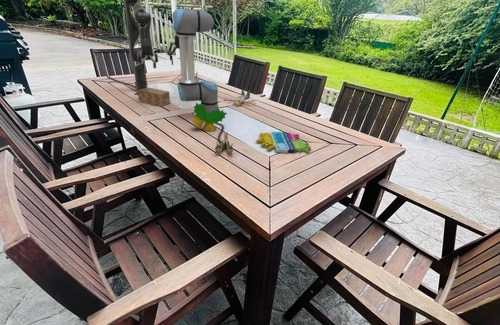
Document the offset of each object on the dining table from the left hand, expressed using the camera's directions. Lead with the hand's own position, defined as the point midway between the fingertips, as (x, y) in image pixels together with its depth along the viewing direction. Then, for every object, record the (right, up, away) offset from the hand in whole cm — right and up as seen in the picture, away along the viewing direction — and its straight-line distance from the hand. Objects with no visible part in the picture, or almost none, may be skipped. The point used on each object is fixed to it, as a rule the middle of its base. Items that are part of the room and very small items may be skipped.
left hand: (148, 68), depth 191 cm
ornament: (+49, -47, -27) cm, 73 cm away
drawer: (-5, -20, +14) cm, 25 cm away
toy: (+67, -17, +30) cm, 75 cm away
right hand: (+19, +10, +18) cm, 28 cm away
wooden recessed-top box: (0, -22, +13) cm, 25 cm away
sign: (+93, -57, -39) cm, 116 cm away
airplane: (+18, +6, +66) cm, 68 cm away
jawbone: (+61, -63, -53) cm, 102 cm away
